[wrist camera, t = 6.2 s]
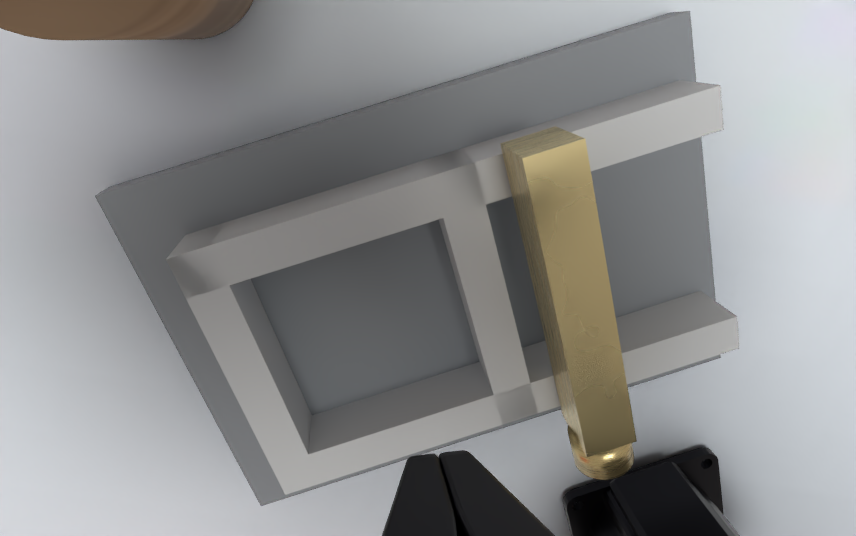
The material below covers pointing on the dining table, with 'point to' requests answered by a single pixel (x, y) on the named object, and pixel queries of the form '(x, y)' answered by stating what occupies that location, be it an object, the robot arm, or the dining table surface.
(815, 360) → the dining table surface
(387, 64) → the dining table surface
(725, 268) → the dining table surface
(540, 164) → the pin
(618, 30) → the dock
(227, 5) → the peg
